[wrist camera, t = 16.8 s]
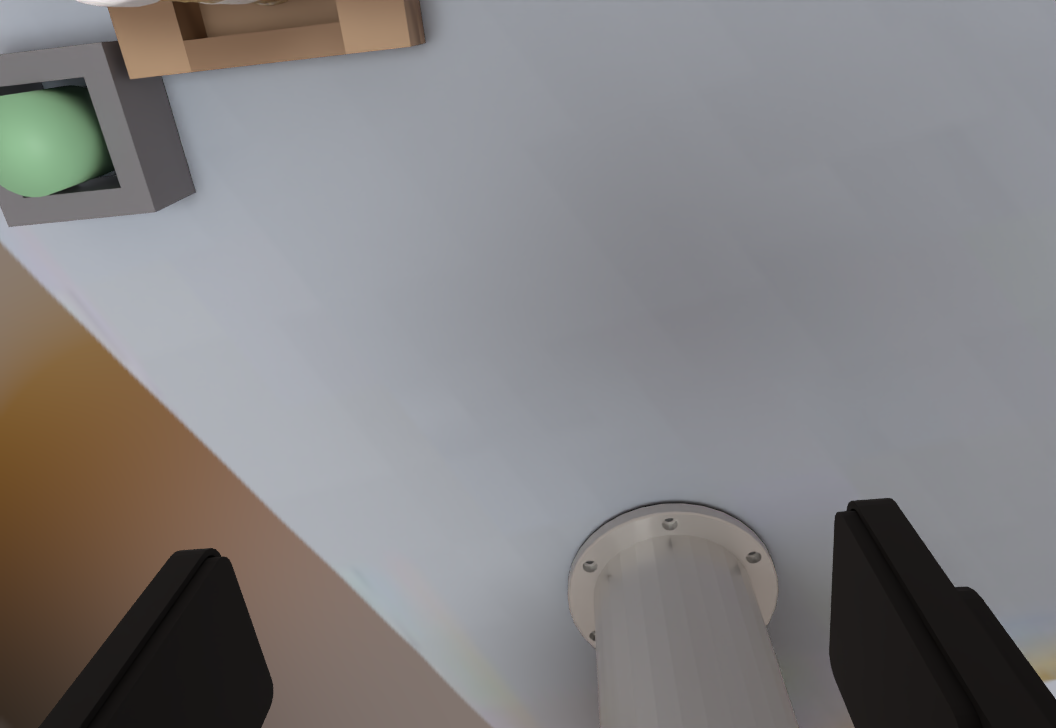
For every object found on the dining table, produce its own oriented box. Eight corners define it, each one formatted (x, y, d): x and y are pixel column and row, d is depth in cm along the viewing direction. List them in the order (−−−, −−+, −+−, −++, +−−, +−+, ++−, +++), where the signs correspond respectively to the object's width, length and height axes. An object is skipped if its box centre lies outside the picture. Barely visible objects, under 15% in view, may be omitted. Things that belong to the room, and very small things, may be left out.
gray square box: (195, 192, 37) (155, 212, 33) (62, 205, 38) (8, 226, 34) (150, 38, 34) (101, 42, 30) (6, 56, 35) (-59, 61, 31)
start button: (139, 171, 35) (84, 192, 31) (58, 179, 35) (-6, 201, 31) (109, 80, 33) (48, 90, 29) (25, 90, 34) (-47, 101, 30)
